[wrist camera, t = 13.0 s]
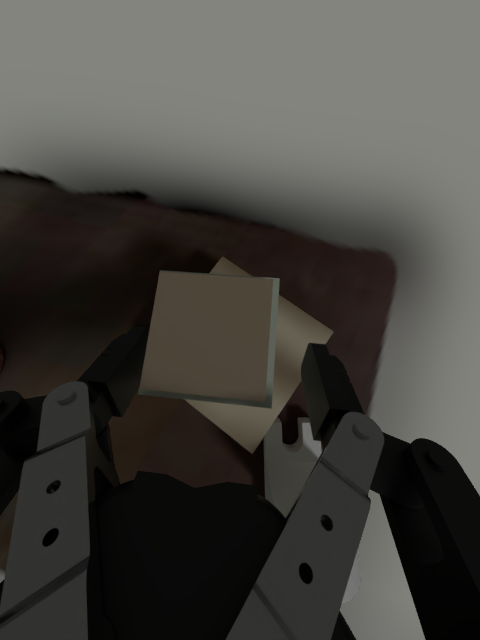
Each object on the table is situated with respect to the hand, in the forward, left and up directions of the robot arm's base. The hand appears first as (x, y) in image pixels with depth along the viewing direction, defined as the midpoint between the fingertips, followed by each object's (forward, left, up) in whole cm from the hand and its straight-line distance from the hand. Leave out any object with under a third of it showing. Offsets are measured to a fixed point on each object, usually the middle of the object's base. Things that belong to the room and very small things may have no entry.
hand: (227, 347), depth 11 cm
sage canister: (0, 0, -7) cm, 7 cm away
